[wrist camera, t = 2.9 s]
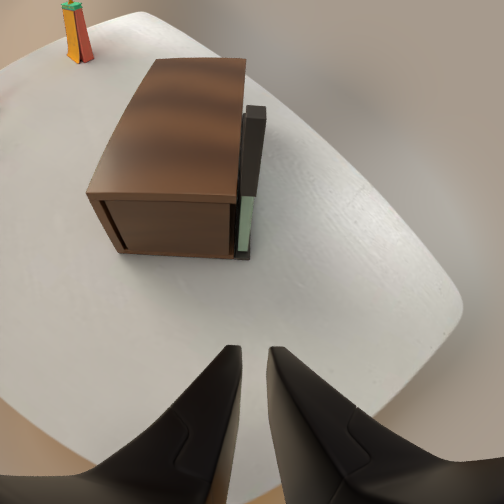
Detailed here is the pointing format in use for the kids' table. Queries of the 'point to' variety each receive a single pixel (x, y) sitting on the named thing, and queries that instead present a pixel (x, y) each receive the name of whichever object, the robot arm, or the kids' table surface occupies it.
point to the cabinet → (176, 162)
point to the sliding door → (250, 169)
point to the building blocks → (76, 32)
